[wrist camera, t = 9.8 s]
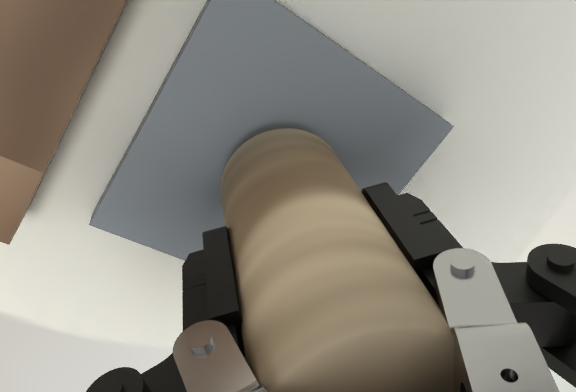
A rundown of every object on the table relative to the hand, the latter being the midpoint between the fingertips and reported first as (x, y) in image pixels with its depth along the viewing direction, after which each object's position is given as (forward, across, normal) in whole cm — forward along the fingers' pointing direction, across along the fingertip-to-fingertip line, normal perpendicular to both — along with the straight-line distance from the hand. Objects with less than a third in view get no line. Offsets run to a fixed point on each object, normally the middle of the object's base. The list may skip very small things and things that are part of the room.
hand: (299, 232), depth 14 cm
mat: (+5, 0, 0) cm, 5 cm away
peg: (+3, 0, 0) cm, 3 cm away
